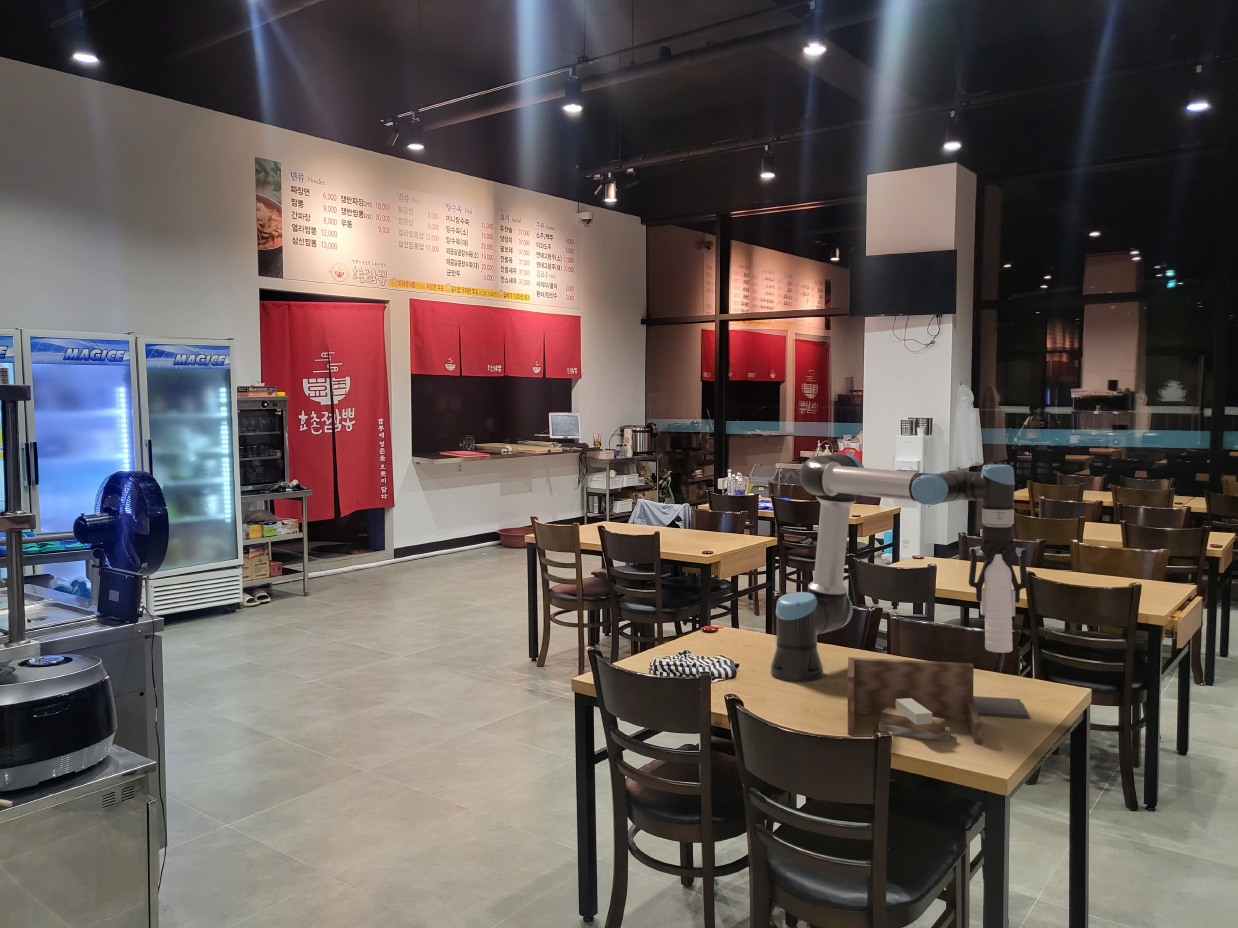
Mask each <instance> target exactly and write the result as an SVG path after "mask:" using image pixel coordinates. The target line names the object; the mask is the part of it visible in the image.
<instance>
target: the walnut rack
mask: <svg viewBox="0 0 1238 928" xmlns="http://www.w3.org/2000/svg"><path fill="white" fill-rule="evenodd" d="M974 668H975V667H974V663H971V662H970V663H967V662H950V661H933V660H932V661H931V660H910V659H907V660H906V659H890V658H871V657H868V658H867V657H852V656H851V657H850V656H848V657H847V735H852V736H854V735H855V714H856V715H857V714H858V715H871V716H872V715H873V716H875V715H876V716H881V712H882V711H883V710H885V709H887V708H893V709H896V699H906V698H912V699H913V700H914V701H916V702H917V703H919V704H920V705H922V706H923V707H924V708H926V709H927V710H929V711H930V712H932V717H936V718H941V719H945V721H947V720H948V721H960V722H961V721H964V722H967V726H968V729H969V731H970V734H971V736H972V740H973V742H974V745H975V744H976V745H982V743H983V742H982V741H983V740H982V739H983V738H982V730H983V729H982V727H983V724H982V720H981V718H980V715H978V712H977V710H976V707H975V705H974V702H973V696H974Z"/></svg>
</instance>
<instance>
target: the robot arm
mask: <svg viewBox="0 0 1238 928" xmlns="http://www.w3.org/2000/svg"><path fill="white" fill-rule="evenodd" d="M981 468H982V469H981V471H967V470H966V471H964V470H963V471H962V470H961V471H960V470H956V469H955V470H953V469H952V470H943V471H941V472H940V473H927V472H915V471H906V470H905V471H904V470H903V471H901V470H893V469H892V470H891V469H879V468H869V467H867V468H866V467H864V465H863V463H862V462H861V460H860V459H859V458H857V457H856V456H854V455H852V454H848V453H846V454H844V453H836V454H834V453H833V454H827V455H815V456H812V457H810V458H809V459H807V460H805V462H804V463H803V464H802V466H801V468H800V470H799V481H800V484H801V486H802V487H803V489H804V490H805V491H806V492H807V493H809V494H811V495H813V496H815V498H816V500H818V502H819V504H820V508H819V518H818V519H819V521H818V529H817V540H816V541H817V542H816V554H815V563H814V576H813V581H811V582H810V583H808V586H807V592H806V591H796V592H789V593H786V594H783V595H782V596H780V597H779V598H778V599H777V600H776V608H775V616H776V617H775V618H776V619H775V620H776V622H775V625H776V626H775V627H776V629H775V630H776V649H775V652H774V655H773V657H772V658H773V659H772V662H771V665H770V674H771V675H772V676H773V677H774V678H776V679H779V680H783V681H787V682H789V681H790V682H812V681H817V680H819V679H822V678H823V677H824V667H823V663H822V660H821V658H820V654H819V651H818V635H821V634H825V633H828V632H834V631H838V630H839V629H841V628H843V627H845V626H846V625H847V624H848V623H849V622H850V620H851V619H852V617H853V614H854V613H853V609H854V608H853V606H854V605H853V603H852V602H853V601H852V600H850V599H851V598H850V596H849V595H848V589H847V587H846V586H845V584H844V576H845V575H844V574H845V562H846V552H847V545H848V544H847V542H848V533H849V521H850V511H851V506H853V505H854V504H855V503H857V496H865V497H875V498H884V499H885V498H886V499H891V500H892V499H893V500H901V501H903V500H904V501H910V502H911V501H912V502H918V503H919V504H921V505H925V506H927V505H929V506H932V505H933V506H934V505H938V504H943V503H949V502H958V501H977V502H981V508H982V509H981V513H982V514H981V523H982V524H984V525H982V526H981V543H980V545H979V546H976V547H969V549H968V550H969V554H970V564H969V574H968V585H969V587H971V588H975V600H976V601H977V602H979V603H980V614H981V616H985V589H984V588H985V587H983V586H984V585H985V584H984V581H985V570H986V568H987V567H988V565H990V564H991V563H992V561H993V558H994V556H995V554H1002V557H1003V560H1004V562H1005V563H1006V565H1007V566H1008V567H1009V569H1010V570H1011V574H1012V581H1011V583H1012V584H1011V585H1012V588H1011V589H1012V591H1011V592H1012V594H1011V595H1012V597H1011V598H1012V610H1011V611H1012V617H1016V604H1017V603H1018V604H1019V603H1020V601H1021V599H1020V596H1021V595H1020V594H1021V590H1022V589H1028V587H1029V585H1028V575H1027V574H1028V573H1027V564H1026V561H1027V560H1026V559H1027V555H1028V551H1027V549H1026V548H1024V547H1023V548H1021V547H1017V546H1016V545H1015V527H1014V526H1012V525H1014V524H1015V505H1014V504H1015V485H1016V482H1015V470H1014V467H1013V466H1012V465H1009V464H984V465H983V466H982V467H981ZM980 551H982V552H983V553H984V554H983V555H985V556H984V557H985V558H984V563H983V565H982V567H981V570H980V573H979V575H978V578H977V581H976V575H977V563H978V556H980V555H979V552H980ZM1015 552H1016V556H1017V557H1018V567H1019V576H1020V577H1019V578H1020V579H1019V580H1020V582H1019V581H1018V578H1017V576H1016V573H1015V570H1014V567H1013V564H1012V561H1011V559H1010V558H1012V556H1013V554H1014V553H1015Z"/></svg>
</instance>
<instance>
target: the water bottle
mask: <svg viewBox="0 0 1238 928" xmlns="http://www.w3.org/2000/svg"><path fill="white" fill-rule="evenodd" d="M978 556H984V557H986V556H985V555H984V553H983V552H982V551H980V552H979V555H978ZM1011 581H1012V574H1011V570H1010V569H1009V567H1008V566H1007V565H1006V563H1005V562H1004V560H1003V557H1002V554H995V556H994V558H993V561H992V563H991V564H990V565H988V567H987V568H986V570H985V581H984V584H983V586H984V587H983V588H984V589H985V615H984V631H985V632H984V638H985V639H984V648H985V650H986V651H988V652H992V653H1001V654H1006V653H1011V652H1013V647H1014V645H1013V619H1012V618H1013V616H1012V611H1011V610H1012V598H1011V597H1012V595H1011V594H1012V592H1011V591H1012V589H1013V584H1012V582H1011Z"/></svg>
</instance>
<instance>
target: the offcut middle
mask: <svg viewBox="0 0 1238 928" xmlns="http://www.w3.org/2000/svg"><path fill="white" fill-rule="evenodd" d="M880 717H881V719H880V720H881V722H884V723H889V724H893V725H898V726H902V727H907V728H911V729H916V730H921V731H925V732H930V733H934V734H940V733H941V732H943V731H944V730H945V727H946V720H945V719H941V718H936V717H932V724H918V725H916V724H915V723H913V722H912V721H911V720H909V719H908V718H907V717H905V716H904V715H903V714H901V713H900V712H899V711H897V710H896V709H893V708H887V709H885V710H883V711H882V712H881V715H880Z"/></svg>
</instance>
